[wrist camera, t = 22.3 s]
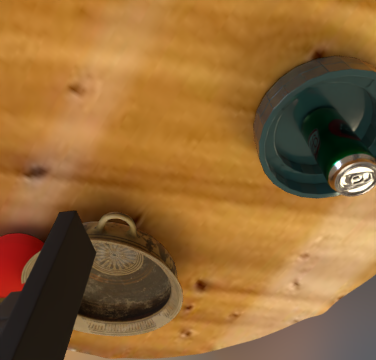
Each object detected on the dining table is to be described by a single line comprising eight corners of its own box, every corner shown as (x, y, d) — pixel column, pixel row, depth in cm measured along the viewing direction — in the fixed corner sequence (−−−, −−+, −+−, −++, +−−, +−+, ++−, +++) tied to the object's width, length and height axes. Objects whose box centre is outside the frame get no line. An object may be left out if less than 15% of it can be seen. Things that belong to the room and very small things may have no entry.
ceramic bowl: (49, 159, 47) (19, 206, 39) (208, 198, 51) (211, 247, 43) (42, 283, 64) (20, 333, 56) (161, 305, 68) (157, 355, 60)
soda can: (296, 113, 42) (327, 167, 32) (338, 99, 40) (382, 151, 31) (303, 146, 44) (334, 205, 35) (342, 134, 43) (385, 191, 34)
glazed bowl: (249, 67, 39) (256, 83, 35) (402, 43, 37) (429, 57, 33) (255, 181, 49) (261, 204, 45) (376, 167, 47) (394, 190, 43)
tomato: (-25, 227, 55) (-67, 283, 46) (48, 217, 54) (19, 273, 45) (10, 272, 62) (-21, 328, 53) (76, 264, 60) (56, 321, 52)
